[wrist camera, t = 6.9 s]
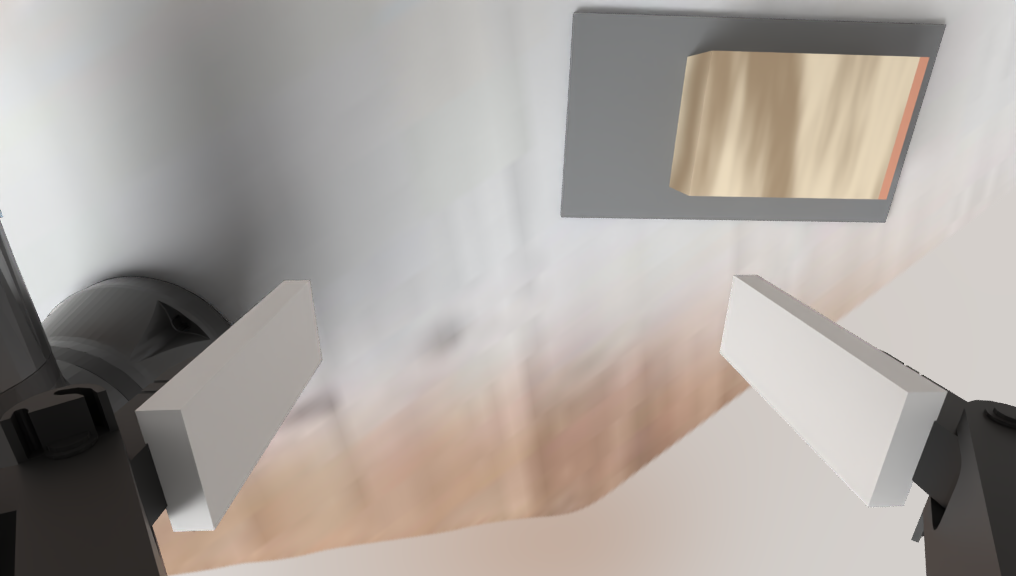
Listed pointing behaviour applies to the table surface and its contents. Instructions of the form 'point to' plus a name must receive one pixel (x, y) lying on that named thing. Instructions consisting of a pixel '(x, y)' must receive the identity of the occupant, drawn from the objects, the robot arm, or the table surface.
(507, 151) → the table surface
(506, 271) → the table surface
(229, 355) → the robot arm
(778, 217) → the mat
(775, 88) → the block
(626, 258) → the table surface
